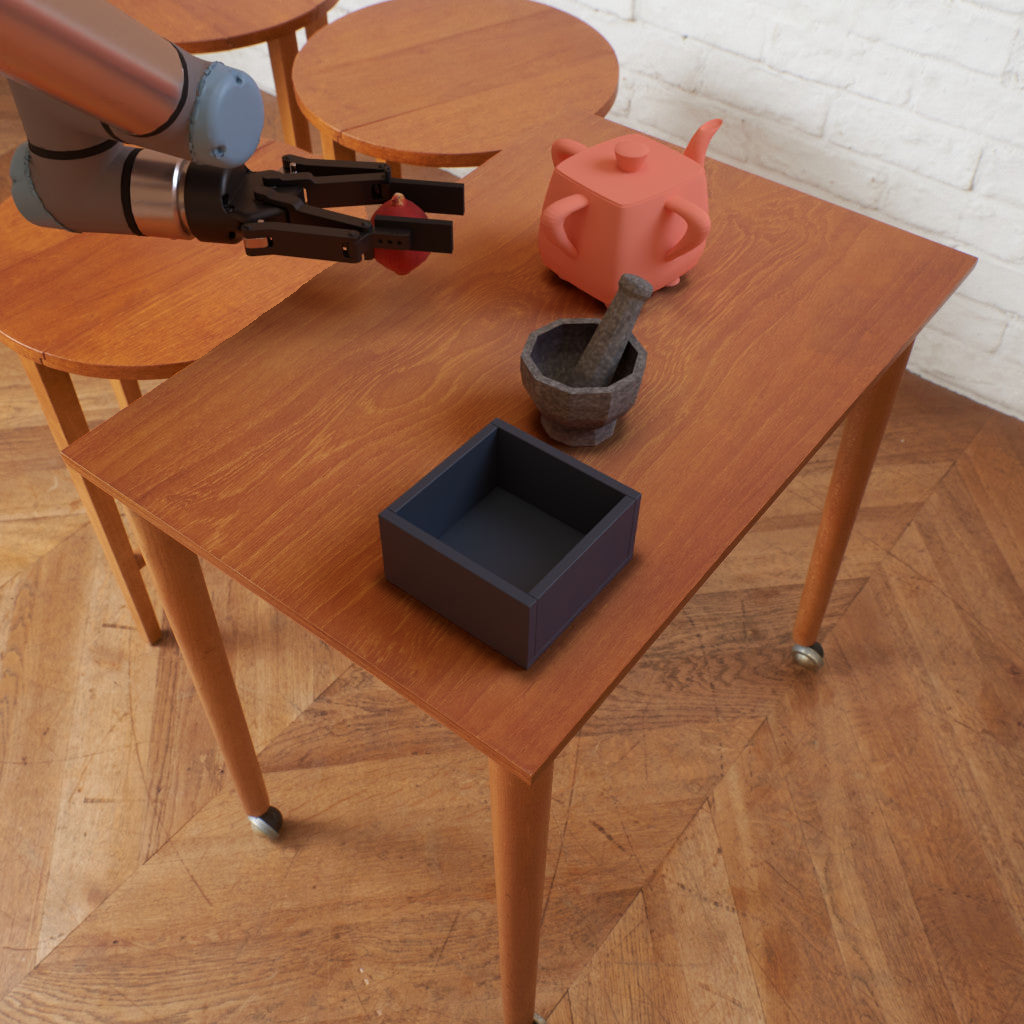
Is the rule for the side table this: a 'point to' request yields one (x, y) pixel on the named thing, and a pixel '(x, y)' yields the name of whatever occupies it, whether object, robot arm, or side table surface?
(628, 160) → the teapot
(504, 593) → the dark blue open box
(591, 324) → the mortar and pestle
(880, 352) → the side table surface
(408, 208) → the onion
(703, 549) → the side table surface
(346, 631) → the side table surface
